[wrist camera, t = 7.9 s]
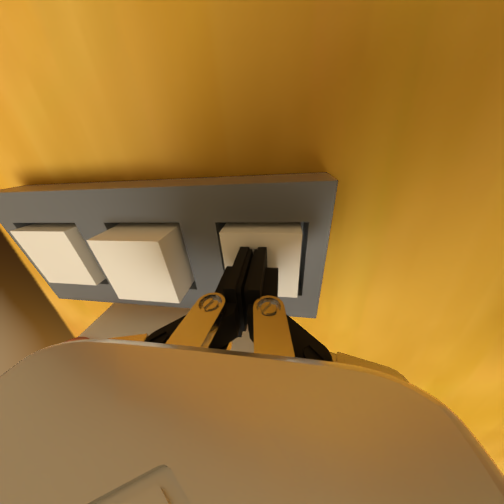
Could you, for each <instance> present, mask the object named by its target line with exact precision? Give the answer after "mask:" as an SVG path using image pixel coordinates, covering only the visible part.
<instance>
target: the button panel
mask: <svg viewBox="0 0 504 504" xmlns="http://www.w3.org/2000/svg"><path fill="white" fill-rule="evenodd" d="M337 185H338V180H337V179H335V178H334V177H333V176H331V175H330V174H329V173H327V172H319V173H296V174H273V175H249V176H226V177H203V178H180V179H157V180H133V181H110V182H87V183H64V184H41V185H25V186H19V187H13V188H7V189H1V190H0V223H1V224H2V226H3V227H4V228H5V229H6V231H7V232H8V233H9V235H10V236H11V237H12V238H13V240H14V241H15V242H16V244H17V245H18V246H19V247H20V249H21V250H22V251H23V253H24V254H25V255H26V256H27V258H28V259H29V260H30V262H31V263H32V264H33V265H34V267H35V268H36V269H37V271H38V272H39V273H40V274H41V276H42V277H43V278H44V279H45V281H46V282H47V283H48V285H49V286H50V287H51V288H52V290H53V291H54V292H55V294H56V295H57V296H58V297H59V298H62V299H74V300H87V301H100V302H113V304H112V305H111V306H110V307H109V308H108V309H107V310H106V311H105V312H104V313H103V314H102V315H101V316H100V317H99V318H98V319H97V320H95V321H94V322H93V323H92V324H91V325H90V326H89V327H88V328H87V329H86V330H85V331H84V332H83V333H82V334H81V335H80V336H78V337H76V338H73V339H70V340H68V341H75V340H82V339H108V338H114V337H122V336H130V335H138V334H146V333H147V334H148V336H149V335H150V334H151V333H153V332H154V331H156V330H158V329H160V328H162V327H164V326H166V325H167V324H169V323H171V322H173V321H175V320H177V319H179V318H181V317H183V316H185V315H187V314H188V312H189V311H190V309H191V308H192V307H193V305H194V304H195V303H196V301H197V300H198V299H199V298H200V297H201V296H203V295H205V294H208V293H215V290H216V288H217V286H218V284H219V282H220V279H221V277H222V275H223V273H224V271H225V266H224V260H223V254H222V248H221V241H220V235H219V232H220V231H221V229H222V228H223V227H224V225H225V224H226V223H227V222H300V223H301V229H302V244H301V257H300V269H299V281H298V294H297V298H292V297H278V298H279V299H280V300H281V301H282V302H283V304H284V307H285V311H286V314H287V315H288V316H293V317H306V318H316V315H317V309H318V303H319V297H320V291H321V284H322V278H323V272H324V266H325V260H326V253H327V247H328V241H329V235H330V228H331V222H332V216H333V210H334V204H335V197H336V191H337ZM170 222H179V224H180V228H181V232H182V235H183V239H184V243H185V246H186V250H187V254H188V257H189V261H190V265H191V268H192V272H193V276H194V279H195V281H194V282H193V284H192V285H191V287H190V288H189V290H188V291H187V293H186V294H185V296H184V297H183V299H182V301H181V302H180V303H168V302H154V301H141V300H127V299H119V298H118V296H117V294H116V292H115V290H114V289H113V287H112V285H111V283H110V282H109V280H108V278H107V276H106V275H105V273H104V271H103V269H102V267H101V266H100V264H99V262H98V260H97V259H96V257H95V255H94V253H93V251H92V250H91V248H90V246H89V244H88V243H87V241H86V240H88V239H90V238H92V237H94V236H96V235H98V234H100V233H102V232H104V231H106V230H108V229H110V228H112V227H114V226H116V225H118V224H120V223H170ZM33 223H75V225H76V226H77V228H78V230H79V232H80V233H81V235H82V237H83V239H84V240H85V242H86V244H87V246H88V247H89V249H90V251H91V253H92V255H93V256H94V258H95V260H96V262H97V263H98V265H99V267H100V269H101V270H102V272H103V274H104V276H105V277H106V279H105V280H103V281H102V282H101V283H99V284H98V285H82V284H65V283H49V282H48V280H47V279H46V278H45V276H44V275H43V274H42V273H41V271H40V270H39V269H38V267H37V266H36V265H35V263H34V262H33V261H32V260H31V258H30V257H29V256H28V254H27V253H26V252H25V250H24V249H23V248H22V247H21V245H20V244H19V243H18V241H17V240H16V239H15V238H14V236H13V235H12V234H11V232H10V231H12V230H15V229H18V228H21V227H24V226H27V225H30V224H33ZM68 341H65V342H68ZM232 342H233V344H232V347H231V350H232V351H242V352H251V353H254V343H253V342H252V340H251V339H250V337H249V332H248V324H247V329H246V332H245V331H243V332H242V337H237V338H236V339H234V340H233V341H232ZM63 343H64V342H63Z"/></svg>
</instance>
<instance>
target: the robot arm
mask: <svg viewBox="0 0 504 504" xmlns="http://www.w3.org/2000/svg"><path fill="white" fill-rule="evenodd" d="M247 324H248V332H249V337H250V339H251V340H252V342H253V343H254V353H251V352H242V351H232V350H231V347H232V344H233V342H232V341H233V340H234V339H236V338H237V337H242V332H243V331H245V332H246V329H247ZM0 504H504V475H503V474H502V472H501V471H500V470H499V468H498V467H497V465H496V464H495V462H494V461H493V460H492V458H491V457H490V456H489V454H488V453H487V452H486V450H485V449H484V448H483V446H482V445H481V444H480V442H479V441H478V440H477V439H476V437H475V436H474V435H473V434H472V432H471V431H470V430H469V429H468V428H467V426H466V425H465V424H464V423H463V422H462V421H461V420H460V419H459V417H458V416H457V415H456V414H455V413H454V412H452V411H451V410H450V409H449V408H448V407H447V406H446V405H445V404H443V403H442V402H441V401H439V400H438V399H437V398H435V397H434V396H432V395H430V394H429V393H427V392H425V391H424V390H422V389H420V388H418V387H416V386H414V385H412V384H410V383H409V382H408V381H407V379H406V378H405V377H404V376H403V375H402V374H400V373H399V372H398V371H396V370H394V369H392V368H390V367H387V366H384V365H380V364H377V363H374V362H370V361H367V360H364V359H360V358H357V357H354V356H350V355H347V354H344V353H341V352H337V354H335V353H332V352H329V350H328V349H327V348H326V347H325V346H324V345H323V344H321V343H320V342H319V341H318V340H317V339H315V338H314V337H313V336H312V335H311V334H309V333H308V332H307V331H306V330H305V329H303V328H302V327H301V326H300V325H299V324H297V323H296V322H295V321H294V320H293V319H291V318H290V317H289V316H288V315H287V314H286V311H285V307H284V304H283V302H282V301H281V300H280V299H279V298H278V268H269V267H267V247H258V249H255V250H254V253H253V250H252V249H249V247H240V248H239V251H238V253H237V256H236V258H235V261H234V263H233V266H227V267H226V268H225V271H224V273H223V275H222V277H221V279H220V282H219V284H218V286H217V288H216V290H215V293H208V294H205V295H203V296H201V297H200V298H199V299H198V300H197V301H196V303H195V304H194V305H193V307H192V308H191V309H190V311H189V312H188V314H187V315H185V316H183V317H181V318H179V319H177V320H175V321H173V322H171V323H169V324H167V325H166V326H164V327H162V328H160V329H158V330H156V331H154V332H153V333H151V334H150V335H149V336H148V334H147V333H146V334H138V335H130V336H122V337H114V338H108V339H82V340H75V341H68V342H64V343H60V344H56V345H52V346H49V347H47V348H44V349H41V350H39V351H36V352H34V353H33V354H31V355H29V356H27V357H26V358H24V359H23V360H21V361H20V362H19V363H17V364H16V365H14V366H13V367H12V368H11V369H9V370H8V371H6V372H5V373H4V374H3V375H1V376H0Z"/></svg>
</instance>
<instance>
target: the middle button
mask: <svg viewBox="0 0 504 504" xmlns="http://www.w3.org/2000/svg"><path fill="white" fill-rule="evenodd" d="M86 241H87V243H88V244H89V246H90V248H91V250H92V251H93V253H94V255H95V257H96V259H97V260H98V262H99V264H100V266H101V267H102V269H103V271H104V273H105V275H106V276H107V278H108V280H109V282H110V283H111V285H112V287H113V289H114V290H115V292H116V294H117V296H118V298H119V299H127V300H141V301H154V302H168V303H180V302H181V301H182V299H183V297H184V296H185V294H186V293H187V291H188V290H189V288H190V287H191V285H192V284H193V282H194V281H195V279H194V276H193V272H192V268H191V265H190V261H189V257H188V254H187V250H186V246H185V243H184V239H183V235H182V232H181V228H180V224H179V222H170V223H120V224H118V225H116V226H114V227H112V228H110V229H108V230H106V231H104V232H102V233H100V234H98V235H96V236H94V237H92V238H90V239H88V240H86Z"/></svg>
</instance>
